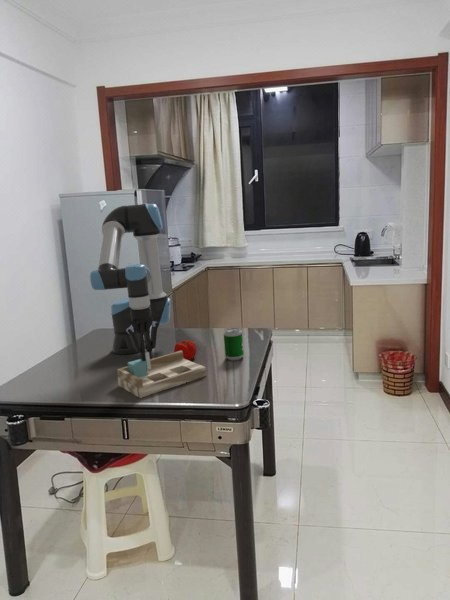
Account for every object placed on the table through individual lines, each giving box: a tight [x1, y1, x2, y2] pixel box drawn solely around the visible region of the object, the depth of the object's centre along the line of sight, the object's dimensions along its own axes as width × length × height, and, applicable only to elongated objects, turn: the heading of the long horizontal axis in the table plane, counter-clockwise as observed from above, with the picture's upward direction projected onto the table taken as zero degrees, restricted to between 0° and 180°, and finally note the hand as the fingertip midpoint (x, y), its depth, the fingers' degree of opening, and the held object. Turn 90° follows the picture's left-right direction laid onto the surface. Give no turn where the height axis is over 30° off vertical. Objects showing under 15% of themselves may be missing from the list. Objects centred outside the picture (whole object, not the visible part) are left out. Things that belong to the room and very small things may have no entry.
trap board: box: [116, 351, 207, 399], centre depth 189 cm, size 17×28×6 cm, turn 127°
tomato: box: [173, 339, 197, 361], centre depth 212 cm, size 9×9×8 cm
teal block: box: [127, 358, 147, 377], centre depth 187 cm, size 5×5×5 cm
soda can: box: [223, 327, 244, 361], centre depth 208 cm, size 8×8×12 cm
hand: (147, 368), depth 190 cm, fingers closed
